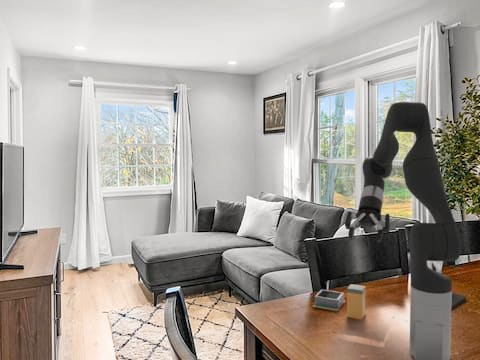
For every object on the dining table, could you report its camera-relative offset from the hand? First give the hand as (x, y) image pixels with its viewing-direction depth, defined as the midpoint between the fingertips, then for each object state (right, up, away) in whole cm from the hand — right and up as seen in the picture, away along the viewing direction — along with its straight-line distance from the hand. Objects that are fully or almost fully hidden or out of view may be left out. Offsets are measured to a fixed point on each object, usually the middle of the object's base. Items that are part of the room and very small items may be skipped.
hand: (364, 240), depth 131 cm
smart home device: (+27, -23, +3) cm, 36 cm away
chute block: (-5, -23, -9) cm, 25 cm away
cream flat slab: (-11, -22, +1) cm, 25 cm away
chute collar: (-11, -21, +1) cm, 24 cm away
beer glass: (+32, -21, +21) cm, 44 cm away
